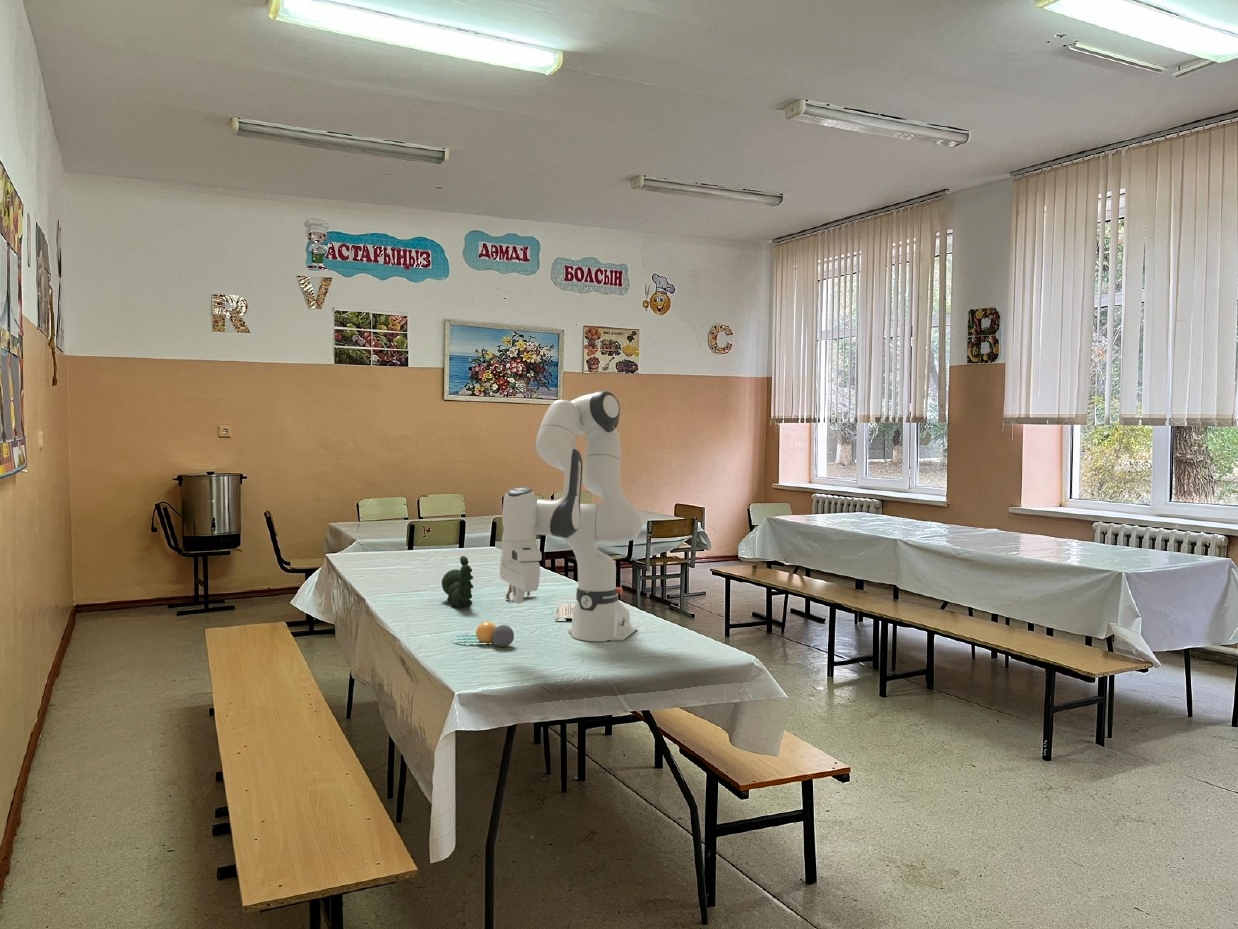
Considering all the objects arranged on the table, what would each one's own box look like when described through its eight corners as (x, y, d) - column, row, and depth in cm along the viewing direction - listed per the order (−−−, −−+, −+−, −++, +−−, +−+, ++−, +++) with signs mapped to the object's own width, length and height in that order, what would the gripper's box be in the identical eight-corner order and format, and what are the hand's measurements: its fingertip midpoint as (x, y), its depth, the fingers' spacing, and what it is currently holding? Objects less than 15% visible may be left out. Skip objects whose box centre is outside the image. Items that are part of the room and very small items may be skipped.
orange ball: (496, 639, 231) (490, 650, 235) (502, 622, 235) (496, 633, 239) (476, 632, 230) (470, 643, 234) (482, 614, 234) (477, 625, 238)
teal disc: (472, 631, 248) (472, 630, 248) (510, 638, 241) (510, 637, 241) (441, 641, 236) (441, 640, 236) (480, 648, 229) (480, 648, 229)
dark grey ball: (509, 620, 230) (509, 641, 227) (517, 628, 235) (516, 648, 232) (489, 623, 231) (488, 644, 228) (497, 630, 236) (496, 651, 233)
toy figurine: (479, 615, 277) (463, 594, 300) (481, 559, 275) (465, 542, 298) (451, 617, 274) (437, 595, 296) (453, 560, 271) (438, 543, 294)
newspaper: (551, 609, 284) (552, 602, 284) (587, 613, 285) (588, 606, 285) (549, 624, 261) (550, 616, 261) (587, 628, 262) (588, 620, 262)
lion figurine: (524, 594, 305) (524, 570, 304) (536, 596, 302) (537, 571, 302) (501, 601, 291) (502, 576, 291) (514, 603, 289) (515, 577, 289)
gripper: (494, 545, 226) (493, 596, 226) (520, 556, 207) (520, 611, 208) (516, 544, 228) (515, 594, 229) (544, 554, 210) (543, 609, 211)
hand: (518, 602), depth 218 cm, fingers closed
